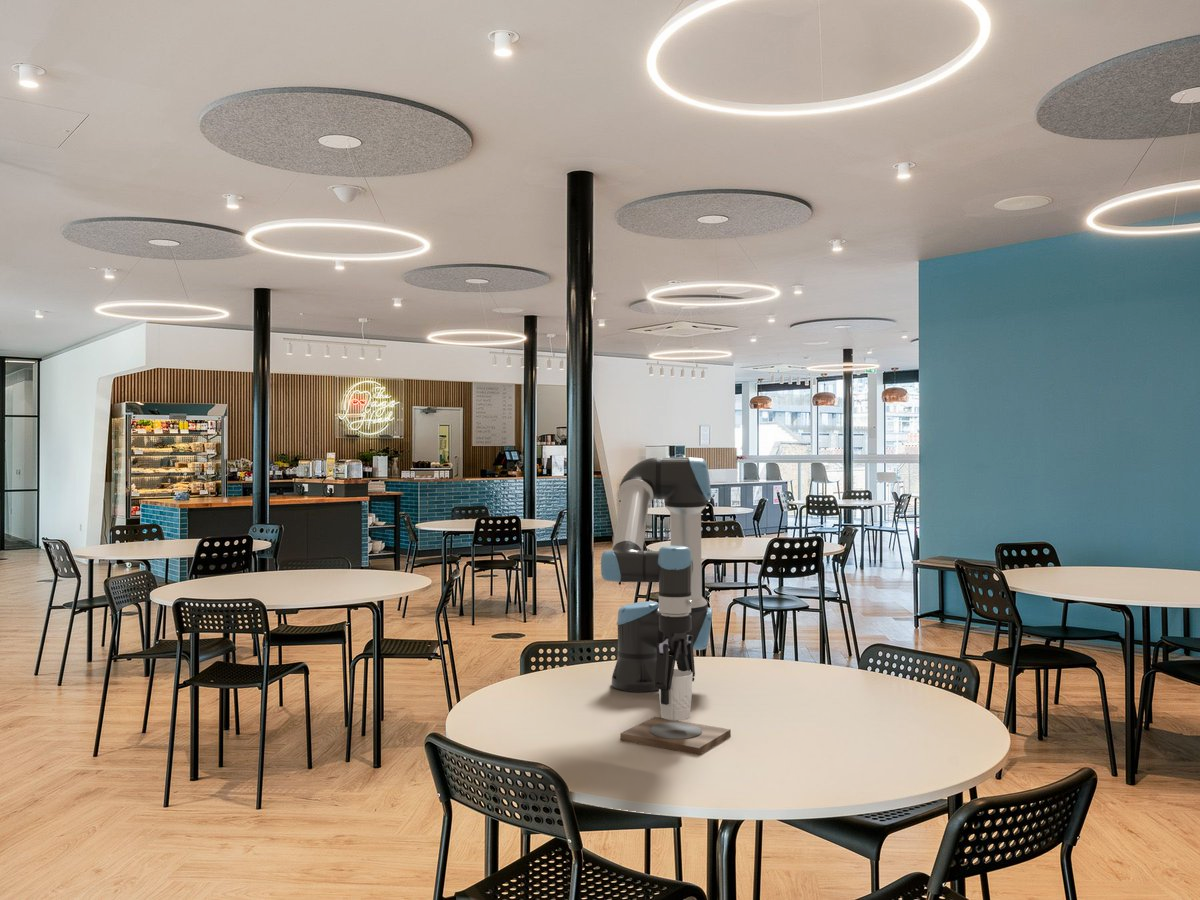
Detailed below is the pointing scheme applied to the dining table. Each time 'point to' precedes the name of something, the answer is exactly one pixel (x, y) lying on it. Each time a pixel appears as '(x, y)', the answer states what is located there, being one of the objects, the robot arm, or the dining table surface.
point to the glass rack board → (676, 735)
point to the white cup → (681, 694)
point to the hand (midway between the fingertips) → (675, 713)
